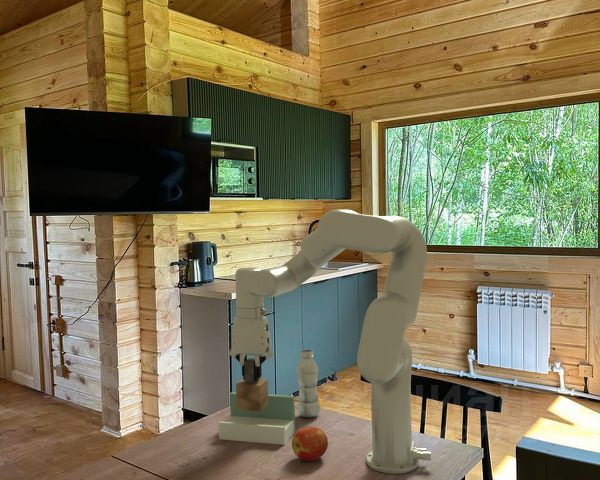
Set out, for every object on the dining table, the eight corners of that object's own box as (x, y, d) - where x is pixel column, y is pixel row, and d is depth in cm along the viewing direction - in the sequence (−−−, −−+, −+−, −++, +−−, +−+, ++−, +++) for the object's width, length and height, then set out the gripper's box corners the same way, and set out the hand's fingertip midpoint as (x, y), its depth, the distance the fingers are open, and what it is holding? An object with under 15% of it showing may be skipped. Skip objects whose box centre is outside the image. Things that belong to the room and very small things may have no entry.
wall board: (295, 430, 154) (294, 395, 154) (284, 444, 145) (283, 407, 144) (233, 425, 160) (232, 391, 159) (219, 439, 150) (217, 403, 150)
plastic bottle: (318, 420, 161) (316, 353, 160) (296, 419, 163) (293, 353, 162) (321, 412, 168) (319, 348, 167) (300, 411, 169) (298, 348, 168)
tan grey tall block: (268, 403, 152) (267, 357, 151) (260, 411, 146) (259, 363, 146) (244, 401, 154) (243, 356, 153) (236, 409, 148) (235, 362, 147)
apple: (288, 456, 138) (287, 425, 137) (317, 449, 141) (316, 419, 141) (303, 469, 130) (302, 436, 130) (333, 460, 134) (332, 429, 134)
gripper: (282, 311, 150) (283, 376, 151) (228, 309, 155) (230, 373, 155) (273, 316, 143) (275, 385, 144) (217, 314, 147) (219, 381, 148)
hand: (251, 378), depth 150 cm, fingers closed on tan grey tall block, 2 cm apart
